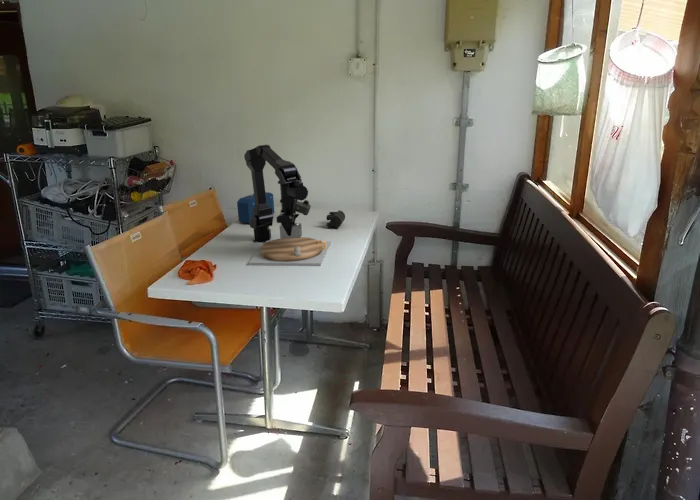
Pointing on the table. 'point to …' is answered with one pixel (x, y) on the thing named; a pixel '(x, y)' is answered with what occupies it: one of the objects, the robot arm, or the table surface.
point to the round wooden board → (291, 249)
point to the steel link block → (295, 231)
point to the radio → (251, 206)
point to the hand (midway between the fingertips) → (290, 234)
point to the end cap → (335, 219)
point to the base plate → (313, 261)
